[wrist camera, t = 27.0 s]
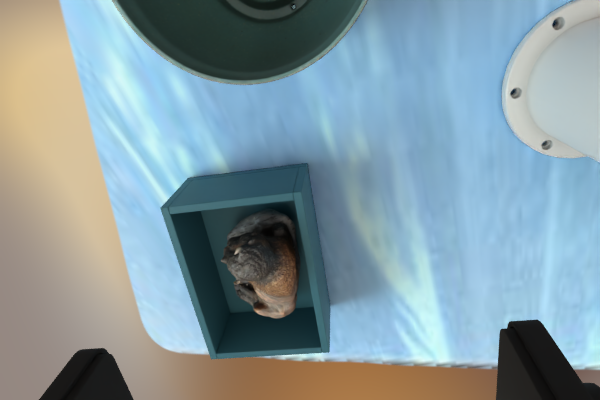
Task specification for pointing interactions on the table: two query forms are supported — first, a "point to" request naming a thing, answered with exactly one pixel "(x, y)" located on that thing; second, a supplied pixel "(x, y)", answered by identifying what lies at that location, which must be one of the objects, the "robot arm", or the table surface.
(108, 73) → the table surface
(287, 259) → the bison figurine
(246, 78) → the flower pot
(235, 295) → the bin
